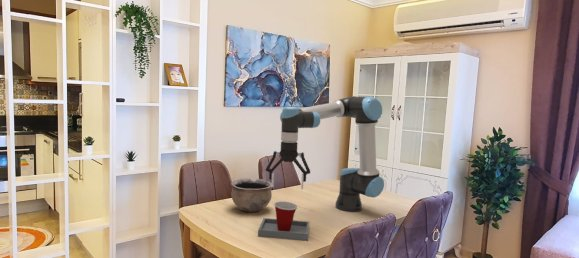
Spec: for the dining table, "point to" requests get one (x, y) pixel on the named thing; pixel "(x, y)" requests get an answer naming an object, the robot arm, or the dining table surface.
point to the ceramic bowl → (251, 194)
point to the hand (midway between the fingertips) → (287, 187)
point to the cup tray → (296, 232)
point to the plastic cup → (284, 214)
